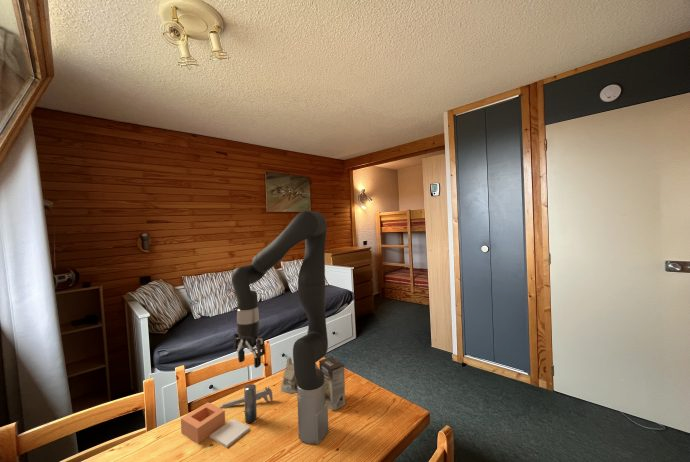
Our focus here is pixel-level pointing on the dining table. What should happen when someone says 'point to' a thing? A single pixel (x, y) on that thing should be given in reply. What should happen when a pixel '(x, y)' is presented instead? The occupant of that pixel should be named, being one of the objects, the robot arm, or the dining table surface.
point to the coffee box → (333, 382)
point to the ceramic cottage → (290, 378)
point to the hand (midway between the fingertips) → (249, 364)
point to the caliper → (258, 396)
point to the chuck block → (202, 422)
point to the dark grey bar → (250, 404)
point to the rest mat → (229, 433)
